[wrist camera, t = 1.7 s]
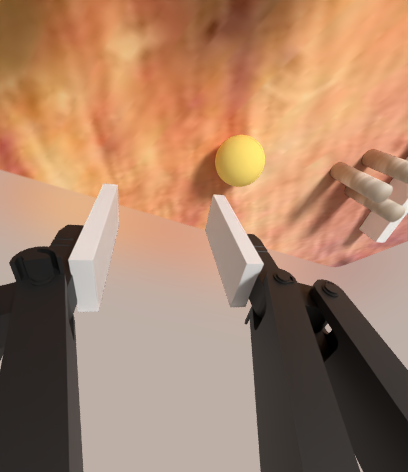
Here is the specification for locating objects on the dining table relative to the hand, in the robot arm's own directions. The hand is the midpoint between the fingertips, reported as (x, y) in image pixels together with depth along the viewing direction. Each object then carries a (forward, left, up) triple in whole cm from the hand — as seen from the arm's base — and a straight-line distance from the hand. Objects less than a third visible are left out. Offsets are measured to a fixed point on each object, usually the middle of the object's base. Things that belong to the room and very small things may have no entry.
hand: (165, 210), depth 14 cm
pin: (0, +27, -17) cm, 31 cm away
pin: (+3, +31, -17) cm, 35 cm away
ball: (0, +10, -14) cm, 17 cm away
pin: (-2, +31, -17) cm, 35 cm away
